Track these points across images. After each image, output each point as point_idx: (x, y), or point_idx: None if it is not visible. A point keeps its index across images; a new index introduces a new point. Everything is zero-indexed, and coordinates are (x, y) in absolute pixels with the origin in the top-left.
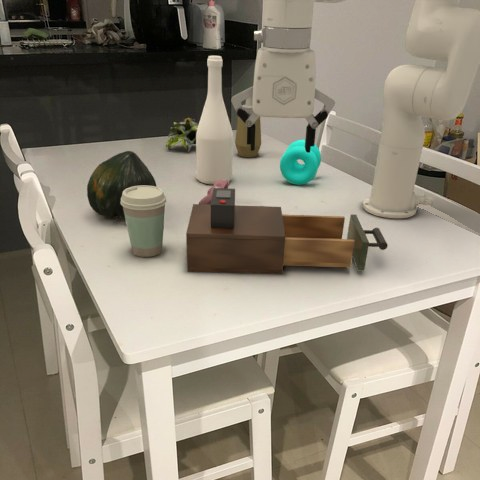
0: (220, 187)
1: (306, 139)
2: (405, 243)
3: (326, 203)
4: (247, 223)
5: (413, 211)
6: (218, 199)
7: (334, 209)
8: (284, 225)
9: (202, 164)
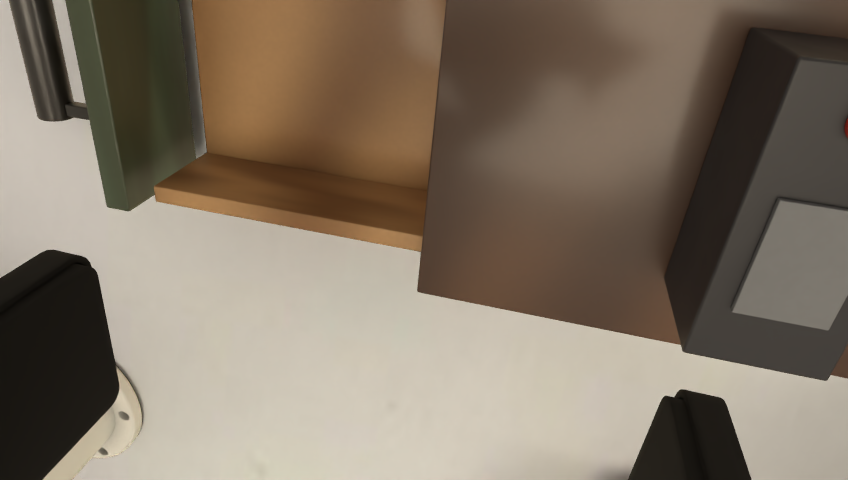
0: None
1: (16, 388)
2: (16, 153)
3: (248, 458)
4: (641, 98)
5: None
6: None
7: (227, 417)
8: (418, 213)
9: None
